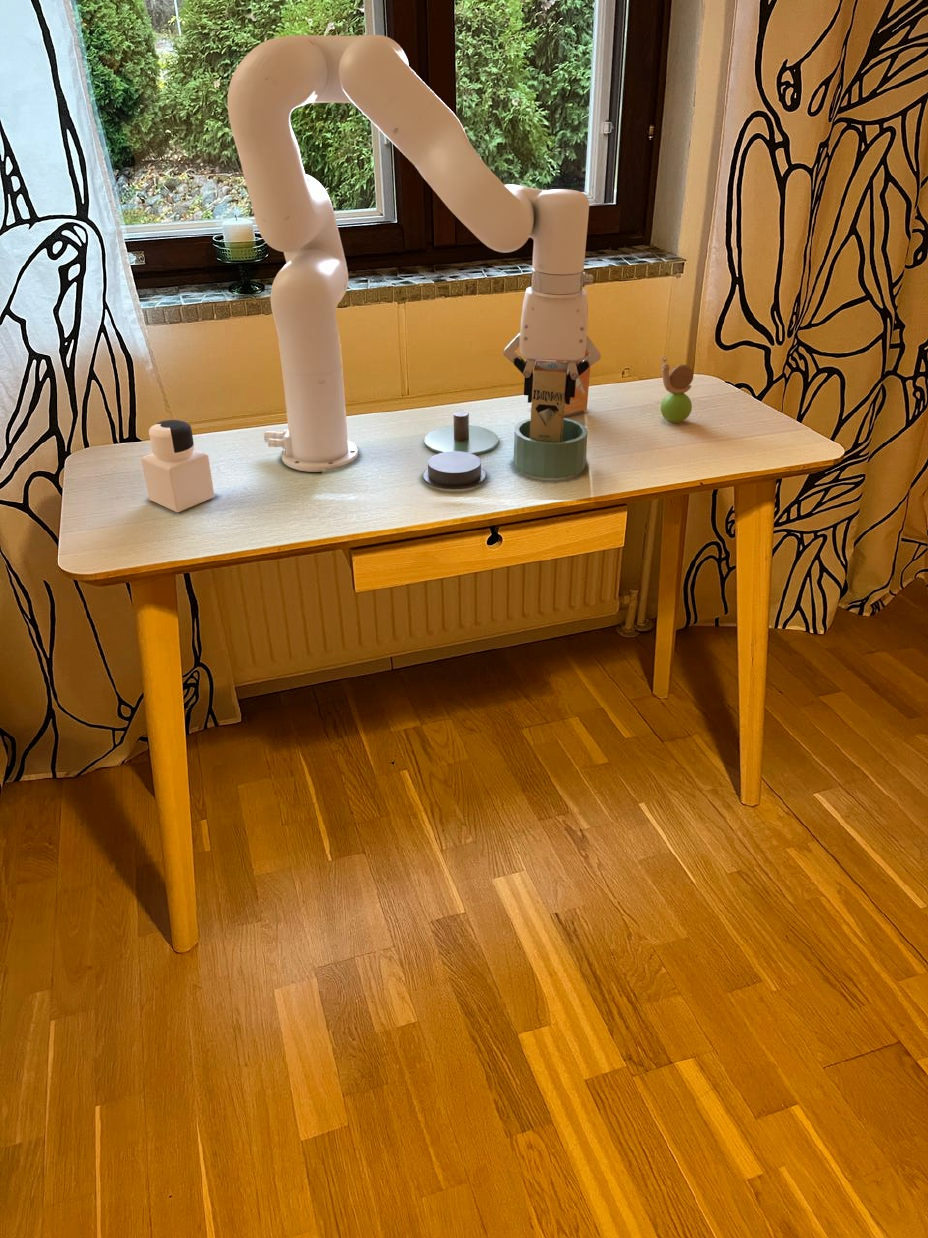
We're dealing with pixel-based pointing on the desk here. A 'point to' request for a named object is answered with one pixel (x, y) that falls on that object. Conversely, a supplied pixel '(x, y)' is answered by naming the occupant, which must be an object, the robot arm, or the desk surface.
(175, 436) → the medicine bottle
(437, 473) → the stand
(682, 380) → the snail figurine
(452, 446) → the tin lid
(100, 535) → the desk surface
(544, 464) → the tin
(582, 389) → the small box
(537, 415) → the shoe polish box
